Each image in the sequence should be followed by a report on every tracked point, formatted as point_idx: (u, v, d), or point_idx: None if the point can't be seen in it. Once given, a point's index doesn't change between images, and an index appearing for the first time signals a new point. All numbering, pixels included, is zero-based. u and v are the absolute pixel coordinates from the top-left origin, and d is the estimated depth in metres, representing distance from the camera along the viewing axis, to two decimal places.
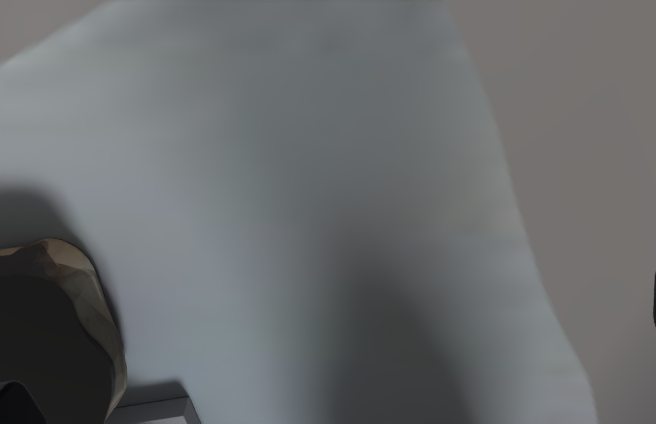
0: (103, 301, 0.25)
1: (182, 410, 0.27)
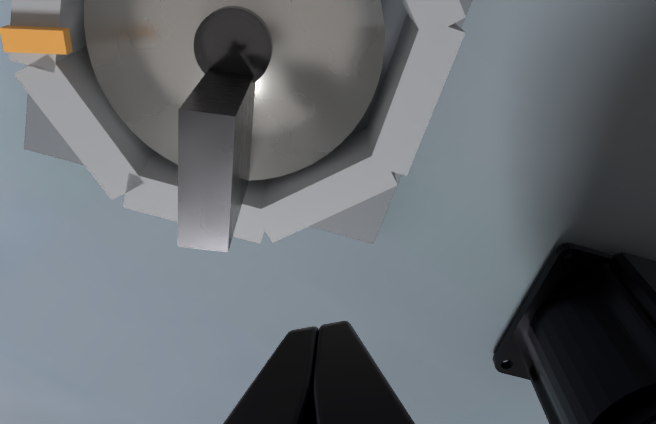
0: None
1: None
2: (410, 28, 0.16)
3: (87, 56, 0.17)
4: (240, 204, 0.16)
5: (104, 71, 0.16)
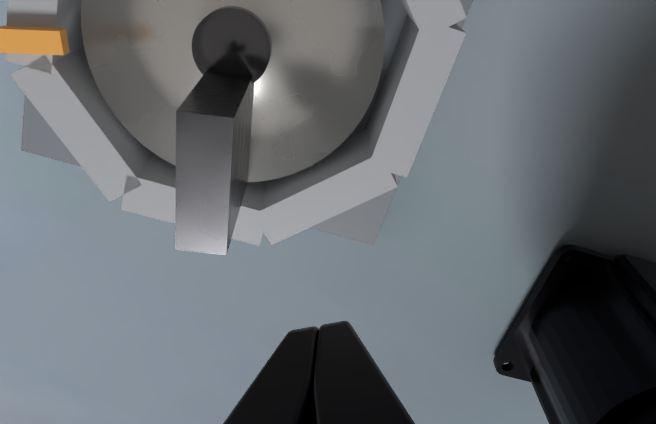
0: None
1: None
2: (410, 28, 0.16)
3: (84, 57, 0.17)
4: (239, 206, 0.15)
5: (101, 72, 0.16)
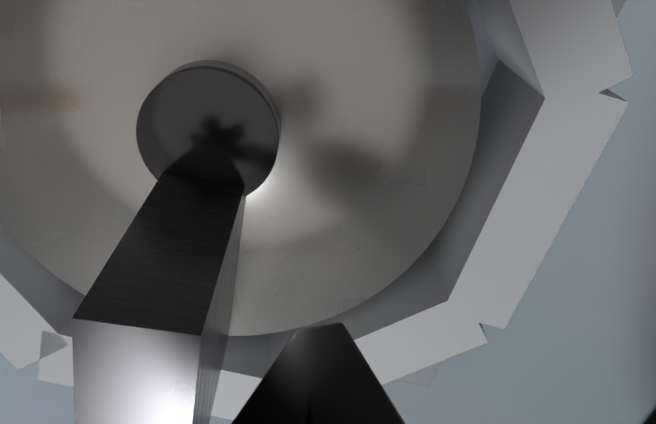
0: None
1: None
2: (515, 88, 0.09)
3: None
4: (211, 407, 0.09)
5: None
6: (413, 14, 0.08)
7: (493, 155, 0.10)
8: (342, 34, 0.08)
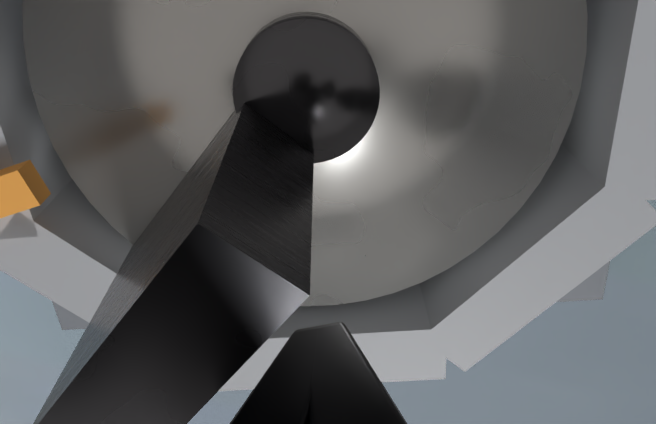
0: None
1: None
2: None
3: None
4: None
5: None
6: (535, 80, 0.08)
7: (606, 13, 0.09)
8: (470, 64, 0.08)
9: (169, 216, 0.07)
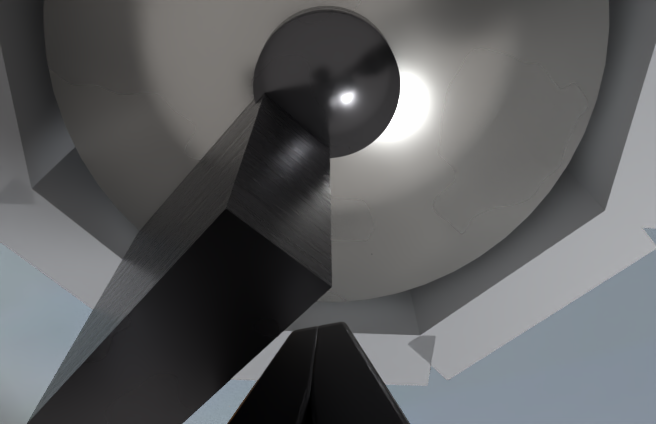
0: None
1: None
2: None
3: None
4: None
5: None
6: (553, 88, 0.08)
7: None
8: (490, 68, 0.08)
9: (184, 202, 0.07)
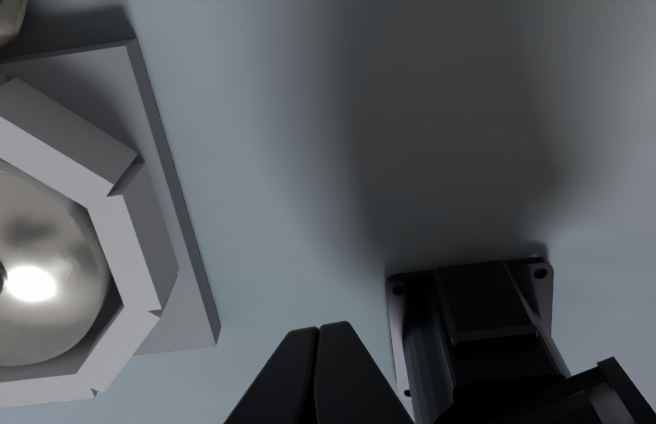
0: None
1: (125, 44, 0.18)
2: None
3: None
4: None
5: None
6: (69, 322, 0.20)
7: None
8: (45, 303, 0.19)
9: None
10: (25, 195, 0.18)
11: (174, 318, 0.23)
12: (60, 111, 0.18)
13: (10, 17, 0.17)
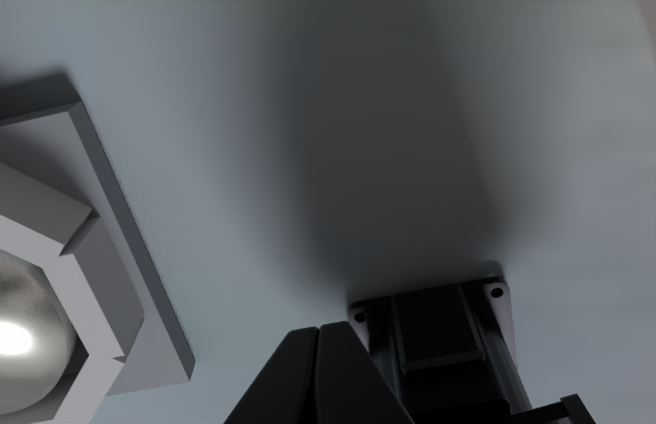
0: None
1: (68, 109, 0.19)
2: None
3: None
4: None
5: None
6: (41, 372, 0.21)
7: None
8: (16, 356, 0.20)
9: None
10: None
11: (146, 358, 0.24)
12: (13, 176, 0.19)
13: None
